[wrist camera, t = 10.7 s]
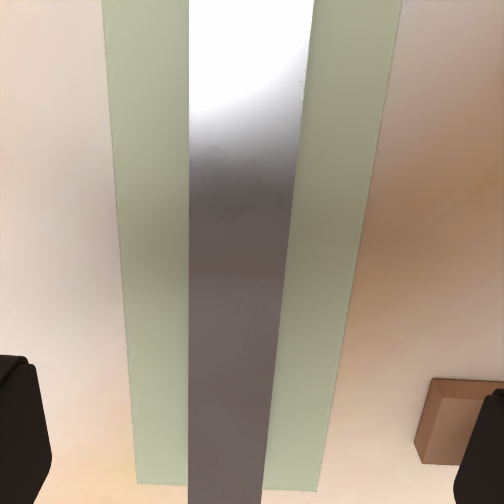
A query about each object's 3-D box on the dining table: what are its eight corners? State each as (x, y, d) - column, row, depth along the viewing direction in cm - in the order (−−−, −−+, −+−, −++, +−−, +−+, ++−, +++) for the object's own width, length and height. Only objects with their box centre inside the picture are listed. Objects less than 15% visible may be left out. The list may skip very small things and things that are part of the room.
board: (427, -179, 12) (435, -189, 12) (315, 481, 23) (316, 491, 23) (93, -203, 12) (85, -215, 12) (139, 473, 23) (136, 483, 23)
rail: (204, -109, 13) (190, -150, 10) (312, -101, 13) (328, -139, 10) (196, 457, 22) (187, 517, 19) (258, 460, 22) (258, 520, 19)
